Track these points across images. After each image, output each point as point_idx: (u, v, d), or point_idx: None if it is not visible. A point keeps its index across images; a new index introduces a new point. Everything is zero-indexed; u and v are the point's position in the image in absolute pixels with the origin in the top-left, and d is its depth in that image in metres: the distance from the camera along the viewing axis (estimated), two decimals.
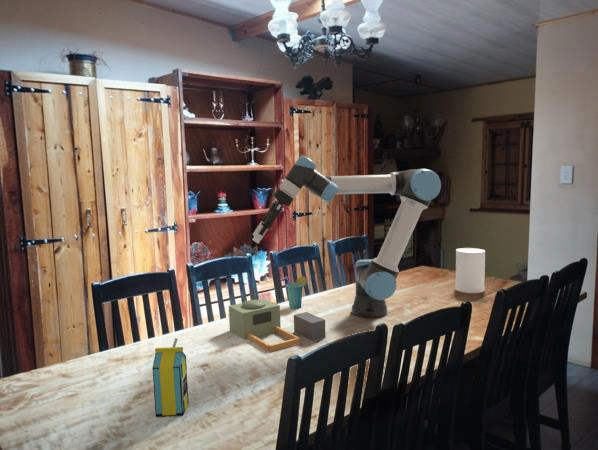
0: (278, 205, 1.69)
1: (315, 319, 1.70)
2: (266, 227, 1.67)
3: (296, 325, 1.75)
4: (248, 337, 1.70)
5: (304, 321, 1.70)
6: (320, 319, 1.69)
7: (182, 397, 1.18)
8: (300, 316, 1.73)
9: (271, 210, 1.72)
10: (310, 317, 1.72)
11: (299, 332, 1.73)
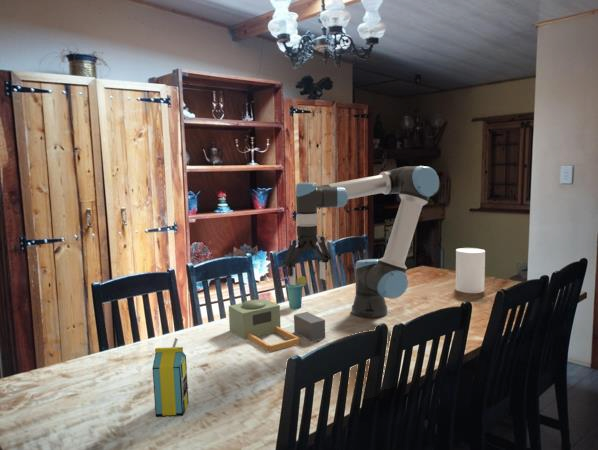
0: (291, 241, 1.65)
1: (315, 319, 1.70)
2: (288, 267, 1.65)
3: (296, 325, 1.75)
4: (248, 337, 1.70)
5: (304, 321, 1.70)
6: (320, 319, 1.69)
7: (182, 397, 1.18)
8: (300, 316, 1.74)
9: (296, 248, 1.68)
10: (310, 317, 1.72)
11: (299, 332, 1.73)
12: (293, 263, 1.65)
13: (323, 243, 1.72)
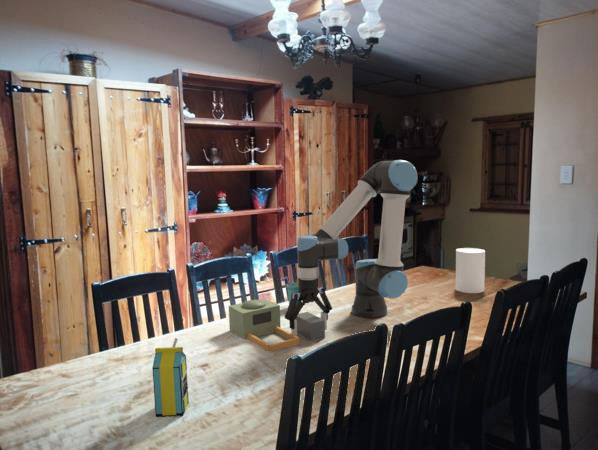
0: (292, 294, 1.68)
1: (314, 319, 1.70)
2: (290, 320, 1.67)
3: None
4: (248, 337, 1.70)
5: (303, 321, 1.70)
6: (319, 319, 1.69)
7: (182, 397, 1.18)
8: (300, 316, 1.74)
9: (298, 301, 1.70)
10: (310, 317, 1.72)
11: (299, 332, 1.73)
12: (295, 316, 1.67)
13: (324, 294, 1.74)
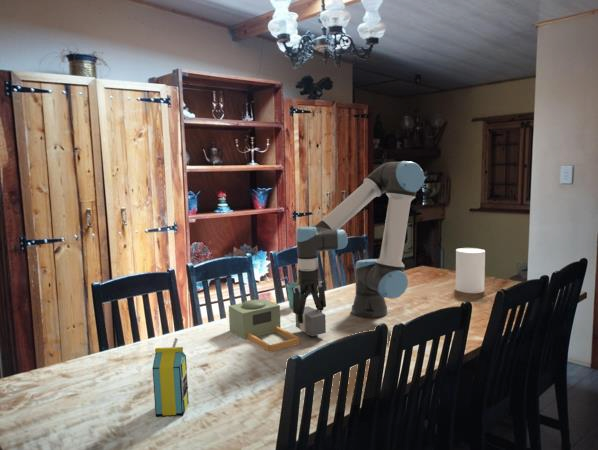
0: (293, 289, 1.68)
1: (315, 313, 1.69)
2: (298, 314, 1.69)
3: (297, 319, 1.75)
4: (248, 337, 1.70)
5: None
6: (320, 314, 1.69)
7: (182, 397, 1.18)
8: None
9: (300, 293, 1.71)
10: (311, 311, 1.72)
11: None
12: (302, 310, 1.69)
13: (323, 289, 1.73)
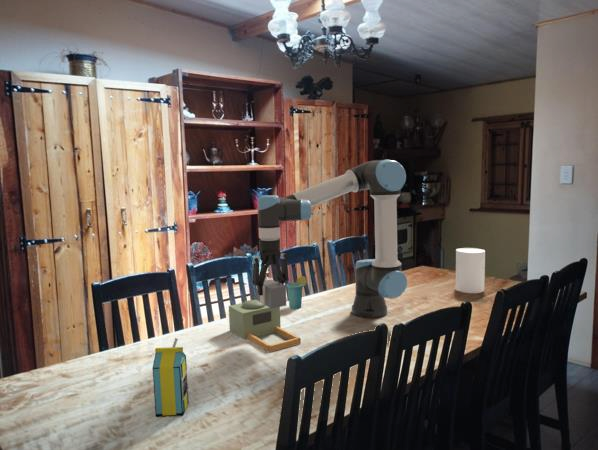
0: (253, 259, 1.61)
1: (276, 285, 1.63)
2: (258, 286, 1.62)
3: None
4: (248, 337, 1.70)
5: None
6: (281, 286, 1.62)
7: (182, 397, 1.18)
8: None
9: (261, 265, 1.64)
10: (272, 283, 1.66)
11: None
12: (262, 282, 1.62)
13: (285, 261, 1.67)
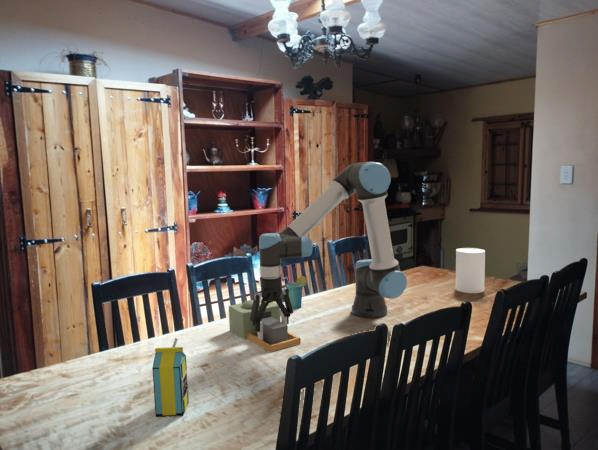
0: (254, 296, 1.63)
1: (277, 324, 1.65)
2: (255, 322, 1.63)
3: None
4: (248, 337, 1.70)
5: (266, 326, 1.65)
6: (282, 325, 1.64)
7: (182, 397, 1.18)
8: (263, 321, 1.69)
9: (261, 301, 1.66)
10: (273, 322, 1.67)
11: None
12: (260, 318, 1.63)
13: (287, 296, 1.69)
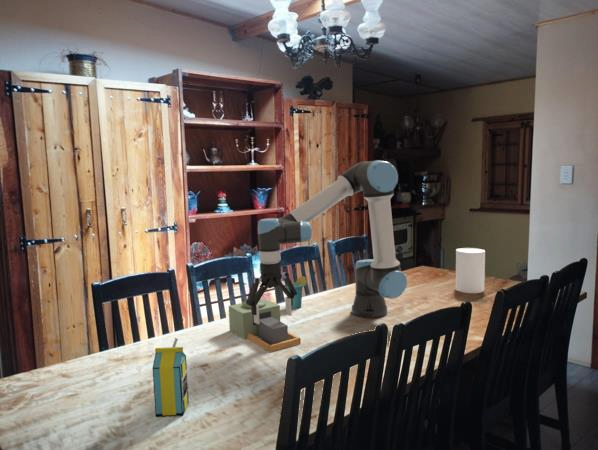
0: (253, 279, 1.62)
1: (277, 324, 1.65)
2: (251, 305, 1.61)
3: (259, 331, 1.70)
4: (248, 337, 1.70)
5: (266, 326, 1.65)
6: (282, 325, 1.64)
7: (182, 397, 1.18)
8: (263, 321, 1.69)
9: (260, 286, 1.65)
10: (273, 322, 1.67)
11: (262, 337, 1.69)
12: (256, 302, 1.61)
13: (288, 279, 1.68)
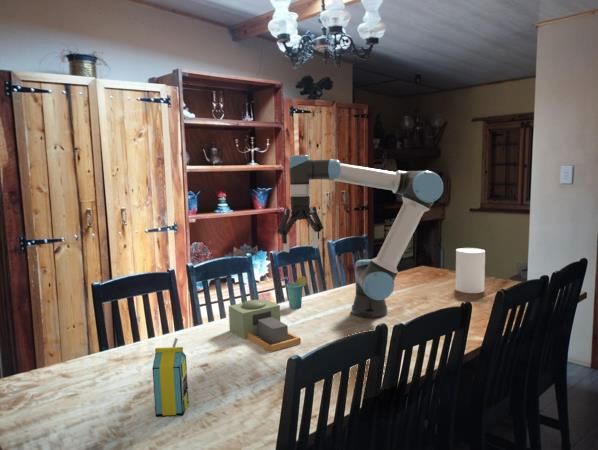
0: (284, 210, 1.74)
1: (277, 325, 1.65)
2: (282, 234, 1.74)
3: (259, 331, 1.70)
4: (248, 337, 1.70)
5: (266, 326, 1.65)
6: (282, 325, 1.64)
7: (182, 397, 1.18)
8: (263, 321, 1.69)
9: (290, 217, 1.77)
10: (273, 322, 1.67)
11: (262, 337, 1.68)
12: (287, 231, 1.74)
13: (315, 213, 1.81)
